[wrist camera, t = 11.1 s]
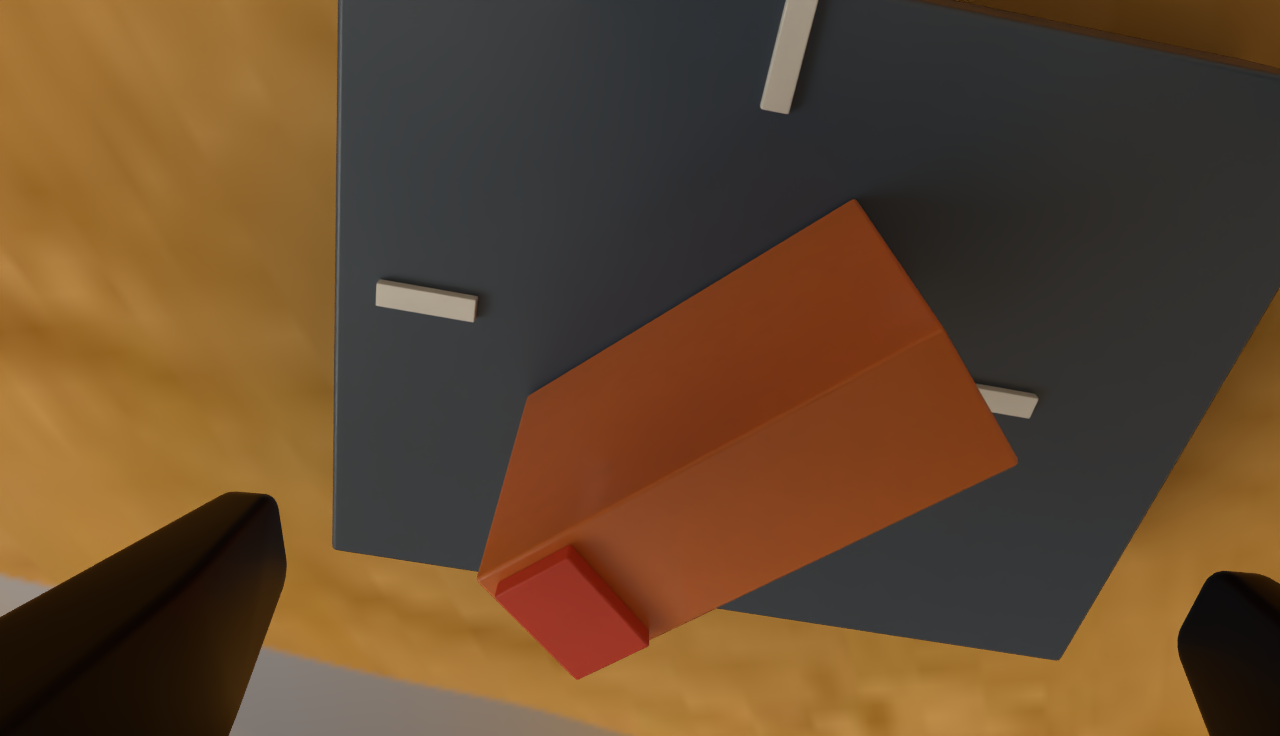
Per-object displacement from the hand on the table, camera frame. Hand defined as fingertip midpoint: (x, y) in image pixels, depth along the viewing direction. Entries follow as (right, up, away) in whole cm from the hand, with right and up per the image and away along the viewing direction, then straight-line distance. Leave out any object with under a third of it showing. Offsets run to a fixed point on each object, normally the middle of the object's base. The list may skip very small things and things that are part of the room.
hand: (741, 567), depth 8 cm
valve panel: (+1, +3, +7) cm, 8 cm away
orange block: (0, +2, +4) cm, 5 cm away
